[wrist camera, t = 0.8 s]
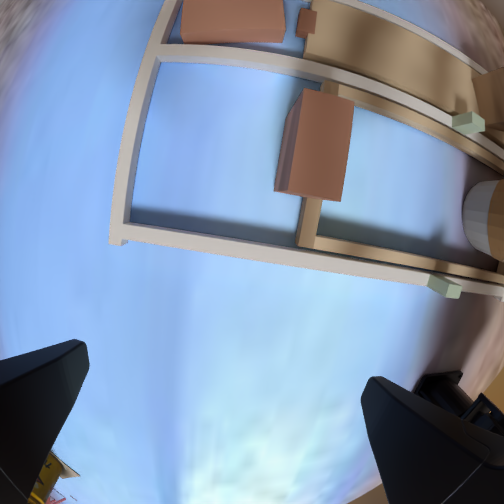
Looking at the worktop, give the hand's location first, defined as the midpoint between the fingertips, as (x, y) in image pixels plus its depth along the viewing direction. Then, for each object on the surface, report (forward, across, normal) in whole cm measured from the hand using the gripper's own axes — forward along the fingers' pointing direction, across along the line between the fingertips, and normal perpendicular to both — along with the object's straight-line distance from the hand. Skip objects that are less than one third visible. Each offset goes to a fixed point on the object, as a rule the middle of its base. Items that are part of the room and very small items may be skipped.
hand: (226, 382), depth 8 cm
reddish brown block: (+12, +3, -19) cm, 23 cm away
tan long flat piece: (+12, -14, -18) cm, 26 cm away
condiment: (+12, +26, +37) cm, 47 cm away
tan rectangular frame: (+12, -14, -8) cm, 20 cm away
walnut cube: (+10, -20, -18) cm, 29 cm away
